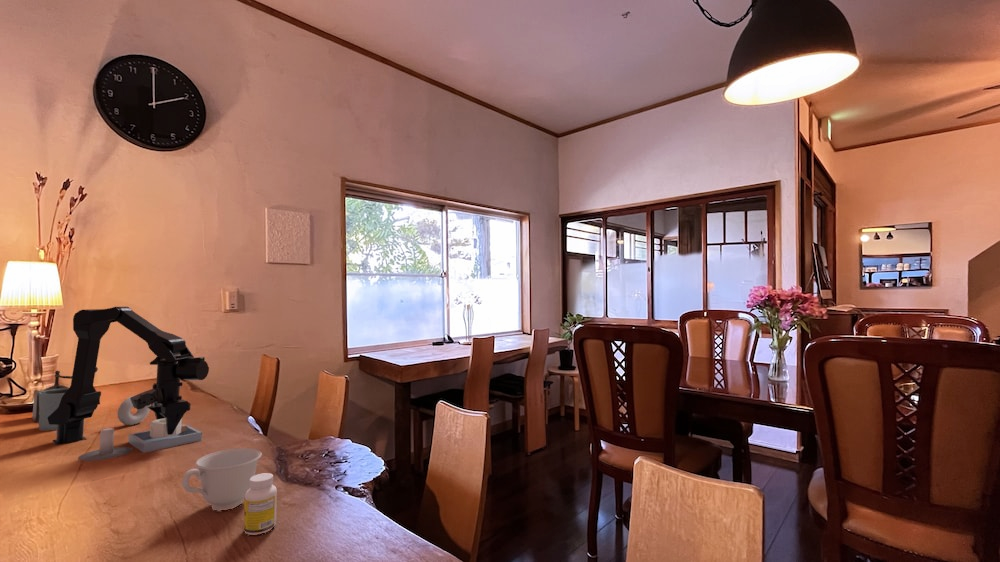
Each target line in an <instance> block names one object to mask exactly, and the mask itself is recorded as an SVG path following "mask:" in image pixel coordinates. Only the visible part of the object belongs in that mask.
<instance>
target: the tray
mask: <svg viewBox="0 0 1000 562" xmlns="http://www.w3.org/2000/svg"><path fill="white" fill-rule="evenodd" d="M181 425H187V431H183V432H181V433H179V434H177V435H174V436H169V437H164V438H152V437H151V436H150V429H149V430H145V431H138V432H134V433H129V434H128V443H129V444H130V445H132V446H133V447H134V448H136V449H137V450H138V451H140V452H142V453H143V454H144V453H150V452H154V451H158V450H163V449H167V448H172V447H173V448H174V447H176V446H182V445H187V444H190V443H196V442H202V438H203V432H202V431H200V430H198V429H197V428H194V427H192V426H190V425H188V424H185V423H182V424H181Z"/></svg>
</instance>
